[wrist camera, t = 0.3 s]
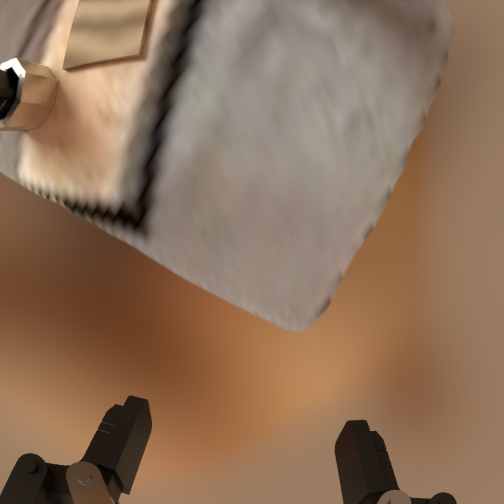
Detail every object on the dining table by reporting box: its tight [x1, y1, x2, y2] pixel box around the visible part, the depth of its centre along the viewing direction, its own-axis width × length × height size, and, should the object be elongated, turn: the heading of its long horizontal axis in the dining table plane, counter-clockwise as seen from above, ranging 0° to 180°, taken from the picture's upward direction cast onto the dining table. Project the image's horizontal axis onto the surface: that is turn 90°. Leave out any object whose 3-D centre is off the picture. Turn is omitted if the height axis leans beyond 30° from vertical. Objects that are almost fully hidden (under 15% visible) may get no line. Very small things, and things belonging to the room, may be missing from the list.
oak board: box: [63, 0, 153, 70], centre depth 28 cm, size 13×13×1 cm
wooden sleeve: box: [0, 58, 58, 131], centre depth 28 cm, size 10×10×8 cm
